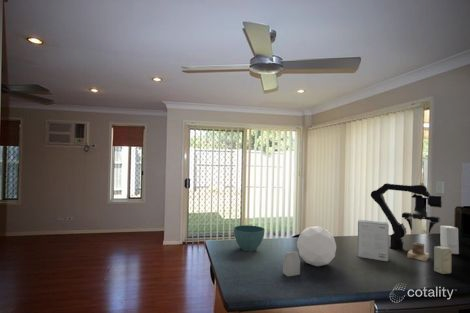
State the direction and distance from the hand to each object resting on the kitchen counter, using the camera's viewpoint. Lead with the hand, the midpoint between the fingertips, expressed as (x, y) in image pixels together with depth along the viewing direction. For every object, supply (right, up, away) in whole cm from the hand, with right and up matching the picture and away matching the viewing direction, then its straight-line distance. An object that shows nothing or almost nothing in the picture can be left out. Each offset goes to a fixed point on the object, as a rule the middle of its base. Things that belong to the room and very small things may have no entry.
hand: (420, 231), depth 169 cm
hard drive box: (-35, -12, -11) cm, 38 cm away
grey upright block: (-86, -9, -40) cm, 95 cm away
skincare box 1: (+21, -14, +4) cm, 25 cm away
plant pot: (-104, -10, -5) cm, 105 cm away
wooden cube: (-7, -10, -8) cm, 15 cm away
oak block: (-7, -13, -9) cm, 17 cm away
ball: (-70, -10, -25) cm, 76 cm away
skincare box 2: (-9, -12, -31) cm, 34 cm away
